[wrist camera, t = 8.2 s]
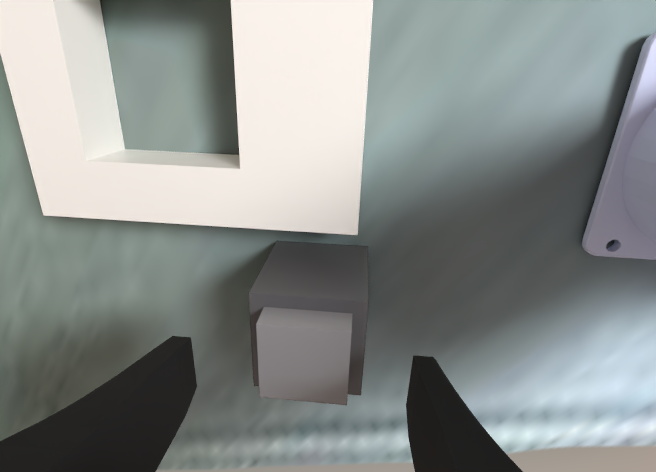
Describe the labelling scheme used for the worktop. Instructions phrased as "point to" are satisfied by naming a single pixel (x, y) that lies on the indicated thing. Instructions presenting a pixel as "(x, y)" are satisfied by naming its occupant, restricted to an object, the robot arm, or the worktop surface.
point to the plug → (310, 322)
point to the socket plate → (199, 168)
